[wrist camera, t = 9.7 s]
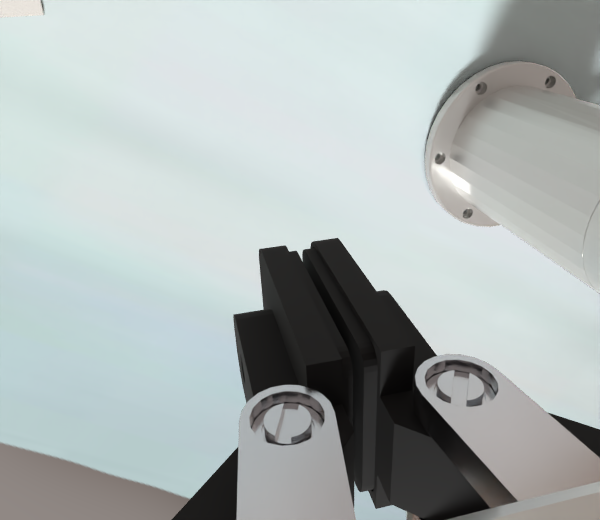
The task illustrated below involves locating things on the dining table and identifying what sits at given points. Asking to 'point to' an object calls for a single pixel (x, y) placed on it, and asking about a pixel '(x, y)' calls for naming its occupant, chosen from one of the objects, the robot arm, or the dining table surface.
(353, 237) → the dining table surface
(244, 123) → the dining table surface
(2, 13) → the mat
